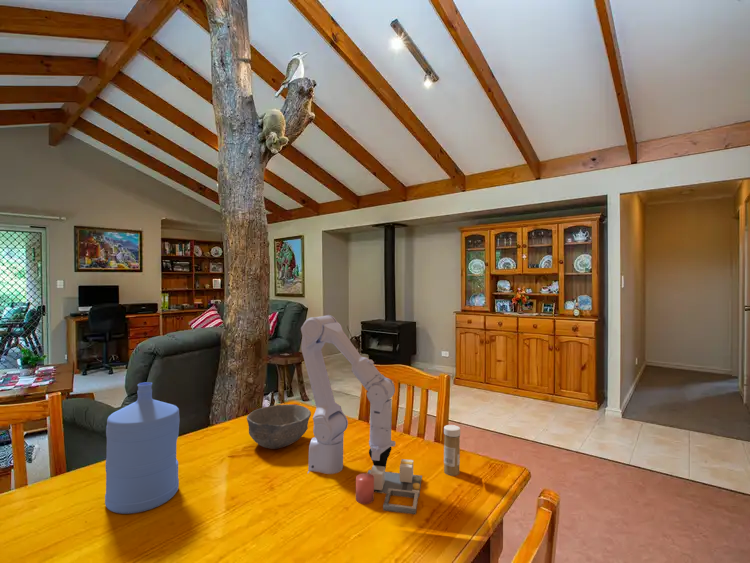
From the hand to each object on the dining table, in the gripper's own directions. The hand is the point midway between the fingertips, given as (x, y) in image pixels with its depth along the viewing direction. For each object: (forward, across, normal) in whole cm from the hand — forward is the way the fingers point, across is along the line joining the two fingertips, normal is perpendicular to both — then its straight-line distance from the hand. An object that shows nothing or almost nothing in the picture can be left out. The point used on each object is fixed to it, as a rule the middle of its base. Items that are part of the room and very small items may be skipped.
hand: (379, 475), depth 106 cm
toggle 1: (+1, -4, 0) cm, 4 cm away
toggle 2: (+1, +2, -7) cm, 7 cm away
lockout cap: (+2, -10, +2) cm, 10 cm away
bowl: (+2, +18, +37) cm, 41 cm away
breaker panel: (+2, -1, -4) cm, 4 cm away
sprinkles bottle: (+2, +9, -19) cm, 21 cm away
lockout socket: (+2, -10, -7) cm, 12 cm away
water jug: (+2, -19, +56) cm, 59 cm away
